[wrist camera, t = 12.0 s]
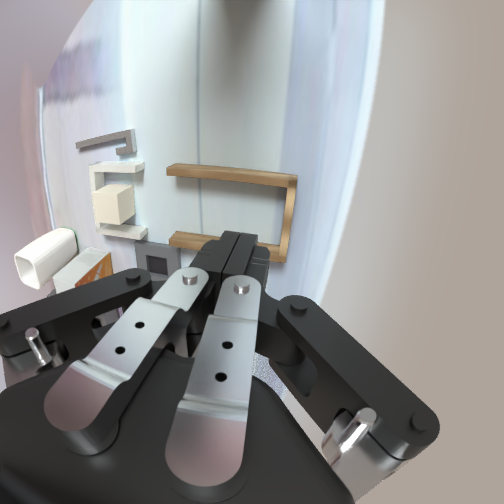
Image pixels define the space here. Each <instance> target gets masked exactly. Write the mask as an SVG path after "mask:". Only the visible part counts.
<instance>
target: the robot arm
mask: <svg viewBox="0 0 504 504" xmlns="http://www.w3.org/2000/svg"><path fill="white" fill-rule="evenodd" d="M257 239H258V235H254V234H247V233H240V232H232V231H224V232H223V234H222V236H221V237H220V239H219V240H215V239H212V240H210V241H208V242H206V243H205V244H204V245H203V246H202V248H201V250H200V251H199V252H198V254H197V255H196V257H195V258H194V260H193V261H192V263H191V264H190V266H189V267H187V268H182V269H179V270H177V271H176V272H174V273H173V274H172V276H171V277H170V278H169V279H168V280H165V281H152V280H151V274H150V273H149V272H148V271H147V270H144V269H141V268H132V269H128V270H124V271H121V272H118V273H116V274H113V275H110V276H107V277H104V278H101V279H98V280H95V281H92V282H89V283H86V284H84V285H81V286H78V287H75V288H72V289H69V290H66V291H64V292H61V293H58V294H55V295H52V296H50V297H47V298H44V299H41V300H39V301H36V302H33V303H30V304H28V305H25V306H22V307H19V308H17V309H14V310H11V311H9V312H6V313H3V314H1V315H0V355H1V357H2V359H3V367H4V375H5V382H6V387H7V388H6V389H5V390H4V391H2V392H1V393H0V504H355V502H356V501H357V500H358V499H360V498H361V497H362V496H364V495H365V494H366V493H367V492H369V491H370V490H371V489H372V488H374V487H375V486H376V485H377V484H379V483H380V482H381V481H382V480H384V479H385V478H387V477H389V476H390V475H392V474H393V473H394V472H396V471H397V470H398V469H400V468H401V467H403V466H404V465H405V464H406V463H408V462H409V461H410V460H412V459H413V458H414V457H416V456H417V455H418V454H419V453H421V452H422V451H423V450H424V449H425V448H427V447H428V446H429V445H430V444H431V443H432V442H434V440H435V439H436V438H437V436H438V434H439V430H440V424H439V420H438V418H437V416H436V414H435V413H434V412H433V411H432V410H431V409H430V408H429V407H428V406H427V405H426V404H425V403H424V402H422V401H421V400H420V399H419V398H418V397H417V396H416V395H415V394H414V393H413V392H412V391H411V390H410V389H408V388H407V387H406V386H405V385H404V384H403V383H402V382H401V381H400V380H399V379H398V378H396V377H395V376H394V375H393V374H392V373H391V372H390V371H389V370H388V369H387V368H385V367H384V366H383V365H382V364H381V363H380V362H379V361H378V360H377V359H376V358H375V357H374V356H372V354H370V353H369V352H368V351H367V350H366V349H365V348H364V347H363V346H362V345H361V344H359V343H358V342H357V341H356V340H355V339H354V338H353V337H352V336H351V335H350V334H348V333H347V331H345V330H344V329H343V328H342V327H341V326H340V325H339V324H338V323H337V322H335V321H334V320H333V319H332V318H331V317H330V316H329V315H328V314H327V313H326V312H325V311H323V310H322V309H321V308H320V307H319V306H318V305H317V304H316V303H315V302H314V301H312V300H311V299H309V298H307V297H303V296H298V295H292V296H287V297H284V298H283V299H281V300H280V301H278V300H276V299H273V298H272V297H270V296H269V295H268V294H267V293H266V292H265V288H266V283H267V277H268V269H269V261H270V251H269V250H268V248H267V247H264V246H257ZM120 307H122V311H123V315H122V316H121V317H120V318H119V320H118V321H115V322H113V323H110V324H108V325H105V326H103V327H100V328H97V329H92V327H91V322H92V320H93V319H94V318H95V317H96V316H99V315H101V314H104V313H106V312H109V311H112V310H114V309H117V308H120ZM254 352H256V353H258V354H260V355H263V356H265V357H267V358H269V364H270V366H271V368H272V369H273V370H274V372H275V373H276V374H277V375H278V377H279V378H280V379H281V381H282V382H283V383H284V384H285V386H286V387H287V388H288V389H289V391H290V392H291V393H292V394H293V396H294V397H295V398H296V399H297V401H298V402H299V403H300V404H301V406H302V407H303V408H304V409H305V411H306V412H307V413H308V414H309V415H310V417H311V418H312V419H313V420H314V421H315V423H316V424H317V425H318V426H319V427H320V429H321V430H322V431H323V432H324V433H325V436H324V437H323V440H322V445H321V446H322V451H323V453H324V455H325V457H326V458H327V461H328V463H327V461H326V460H325V459H324V457H323V456H322V455H321V453H320V452H319V451H318V449H317V448H316V447H315V446H314V444H313V443H312V442H311V440H310V439H309V438H308V436H307V435H306V433H305V432H304V431H303V429H302V428H301V427H300V425H299V424H298V423H297V421H296V420H295V418H294V417H293V416H292V414H291V413H290V411H289V410H288V409H287V407H286V406H285V404H284V403H283V402H282V400H281V399H280V397H279V396H278V395H277V393H276V392H275V391H274V390H273V389H272V388H271V387H270V386H268V385H267V384H266V383H265V382H263V381H262V380H260V379H259V378H257V377H255V376H253V375H252V370H253V361H254Z"/></svg>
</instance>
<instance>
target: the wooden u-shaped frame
mask: <svg viewBox="0 0 504 504" xmlns="http://www.w3.org/2000/svg"><path fill="white" fill-rule="evenodd" d="M166 169H167V176H181V177H194V178H206V179H217V180H227V181H237V182H246V183H255V184H263V185H271V186H279V187H286V188H288V189H287V197H286V205H285V212H284V220H283V228H282V235H281V242H280V246H279V245H272V244H266V243H259V242H257V246H264V247H267V248H268V250H269V251H270V261H273V262H280V263H285V262H286V255H287V249H288V242H289V235H290V228H291V222H292V215H293V207H294V200H295V193H296V185H297V175H291V174H283V173H276V172H267V171H259V170H250V169H240V168H230V167H219V166H206V165H192V164H173V165H171V166H169V167H167V168H166ZM212 239H215V240H219V239H220V237H216V236H209V235H202V234H194V233H187V232H180V231H176V232H175V233H174V234H173V235H172V236H171V238H170V239H169V246H173V247H180V248H186V249H193V250H201V248H202V246H203V245H204V244H205V243H206V242H208V241H210V240H212Z"/></svg>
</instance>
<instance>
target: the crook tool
mask: <svg viewBox="0 0 504 504" xmlns="http://www.w3.org/2000/svg"><path fill="white" fill-rule="evenodd" d="M121 138H126V145H127V146H125V147H119V148H116V154H117V155H121V154H126V153H133V152H136V151H137V148H136V140H135V132H134V129H131V130H126V131H121V132H117V133H112V134H108V135H104V136H100V137H96V138H92V139H88V140H84V141H81V142H77V143H76V149H78V148H82V147H86V146H90V145H94V144H98V143H102V142H107V141H111V140H116V139H121Z"/></svg>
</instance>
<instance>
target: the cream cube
mask: <svg viewBox="0 0 504 504" xmlns="http://www.w3.org/2000/svg"><path fill="white" fill-rule="evenodd" d="M92 194H93V203H94V211H95V218H96V222H100V223H108V224H116V225H121V224H122V223H124V222H125V221H126V220H128V219H129V218H130V217H132V216H133V215H134V214H135V201H134V185H124V184H108V185H106V186H104V187H102V188H100V189H98V190H96V191H95V192H93V193H92Z"/></svg>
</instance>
